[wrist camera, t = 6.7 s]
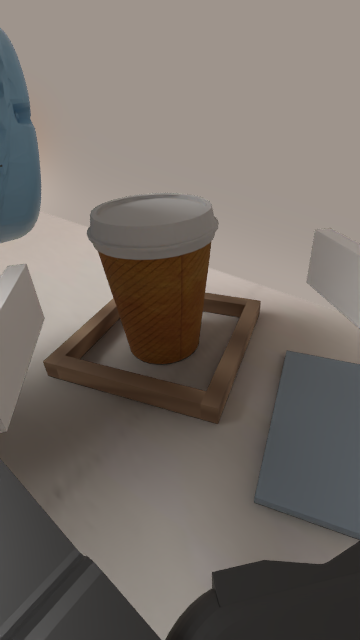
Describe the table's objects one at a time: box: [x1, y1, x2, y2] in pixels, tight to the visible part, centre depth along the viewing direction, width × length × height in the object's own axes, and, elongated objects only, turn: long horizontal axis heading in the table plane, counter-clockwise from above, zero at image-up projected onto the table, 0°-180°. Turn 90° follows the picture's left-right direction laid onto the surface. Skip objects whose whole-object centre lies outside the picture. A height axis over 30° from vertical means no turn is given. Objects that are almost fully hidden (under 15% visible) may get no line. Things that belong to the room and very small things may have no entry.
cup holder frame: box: [43, 293, 261, 424], centre depth 30 cm, size 14×14×2 cm
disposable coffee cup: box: [87, 193, 218, 364], centre depth 27 cm, size 10×10×12 cm
